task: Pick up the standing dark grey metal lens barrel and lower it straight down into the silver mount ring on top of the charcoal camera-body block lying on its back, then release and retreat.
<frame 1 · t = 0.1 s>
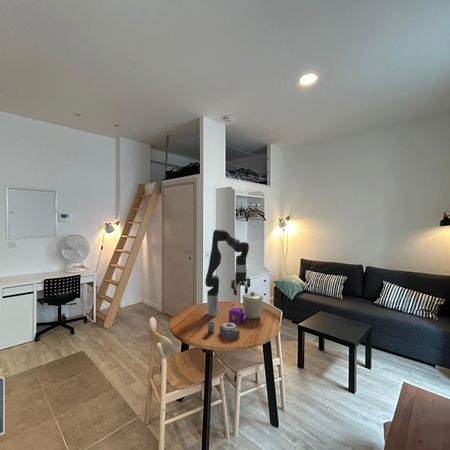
hand: (240, 294, 167), 29 cm above the table, fingers open, 8 cm apart
camera body: (229, 335, 168), on the table
toy camera: (237, 321, 193), on the table
lens: (210, 333, 172), on the table
canister: (252, 316, 203), on the table
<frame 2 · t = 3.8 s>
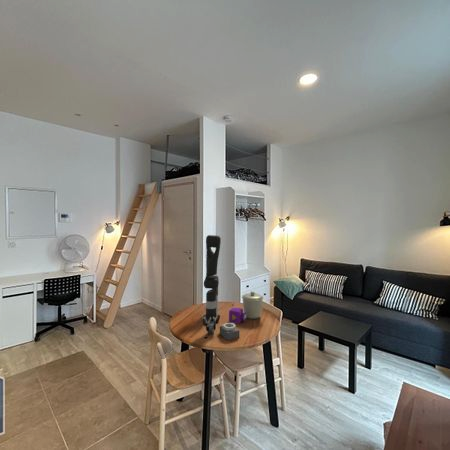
hand: (210, 330, 172), 2 cm above the table, fingers closed on lens, 4 cm apart
lens: (210, 333, 172), on the table, touching gripper
everything else where it was.
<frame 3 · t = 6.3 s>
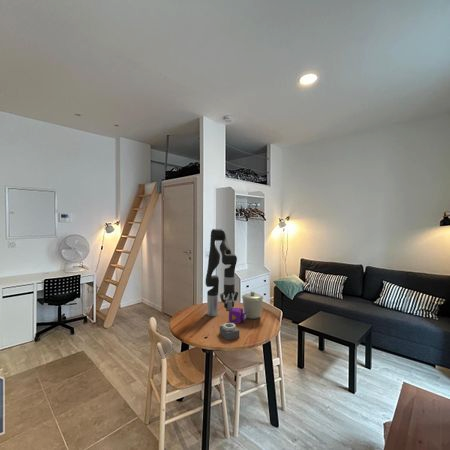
hand: (229, 307, 168), 19 cm above the table, fingers closed on lens, 4 cm apart
lens: (229, 310, 168), point 18 cm above the table, touching gripper
everything else where it was.
when the fingers open (8 cm above the table, at t = 8.9 s): lens stays where it is, resting on camera body.
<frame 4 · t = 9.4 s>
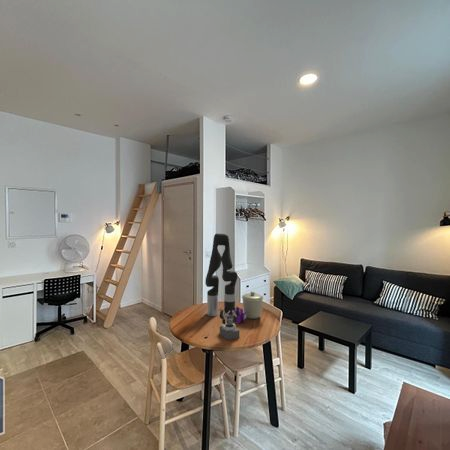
hand: (229, 323, 168), 9 cm above the table, fingers open, 8 cm apart
lens: (229, 328, 168), point 5 cm above the table, touching camera body
everything else where it was.
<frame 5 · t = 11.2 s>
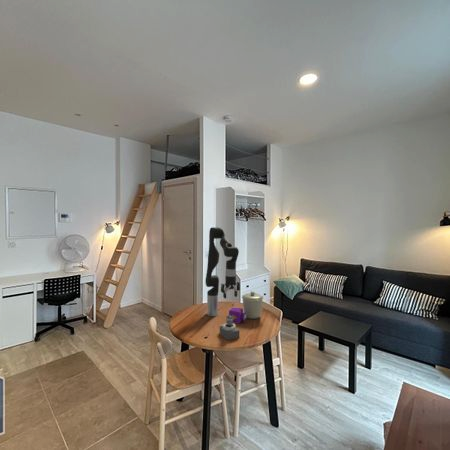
hand: (230, 297, 173), 25 cm above the table, fingers open, 8 cm apart
nothing on the table moved.
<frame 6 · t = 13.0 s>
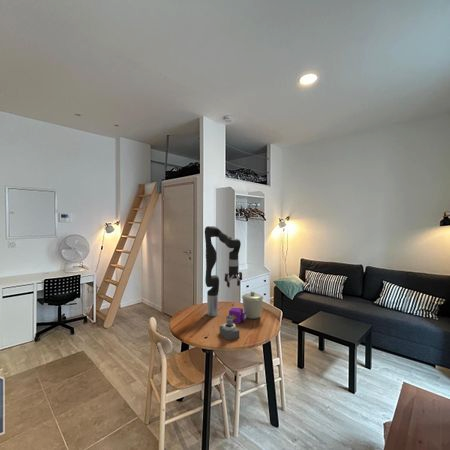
hand: (233, 286, 184), 30 cm above the table, fingers open, 8 cm apart
nothing on the table moved.
at the end: lens 0.2 cm off-centre on the camera body, point 5.0 cm above the camera body's base; lens tilted 0°; the gripper is holding nothing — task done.
